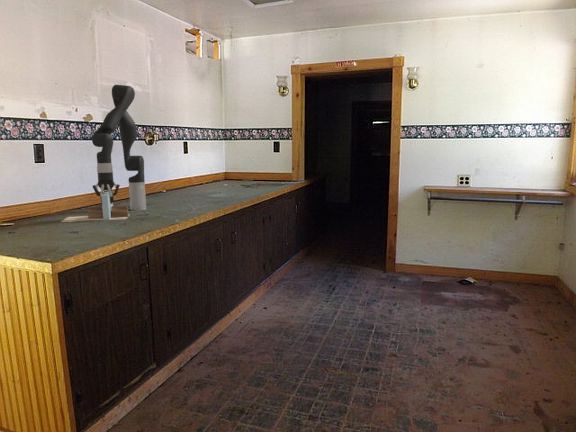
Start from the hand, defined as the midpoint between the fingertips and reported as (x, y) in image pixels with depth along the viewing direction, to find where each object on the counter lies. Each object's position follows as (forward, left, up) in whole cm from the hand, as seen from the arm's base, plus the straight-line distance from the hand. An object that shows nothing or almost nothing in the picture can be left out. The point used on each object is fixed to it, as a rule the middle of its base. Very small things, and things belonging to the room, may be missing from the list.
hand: (107, 203), depth 232 cm
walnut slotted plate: (0, 0, -8) cm, 8 cm away
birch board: (0, -6, -9) cm, 11 cm away
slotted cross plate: (0, 0, -8) cm, 8 cm away
